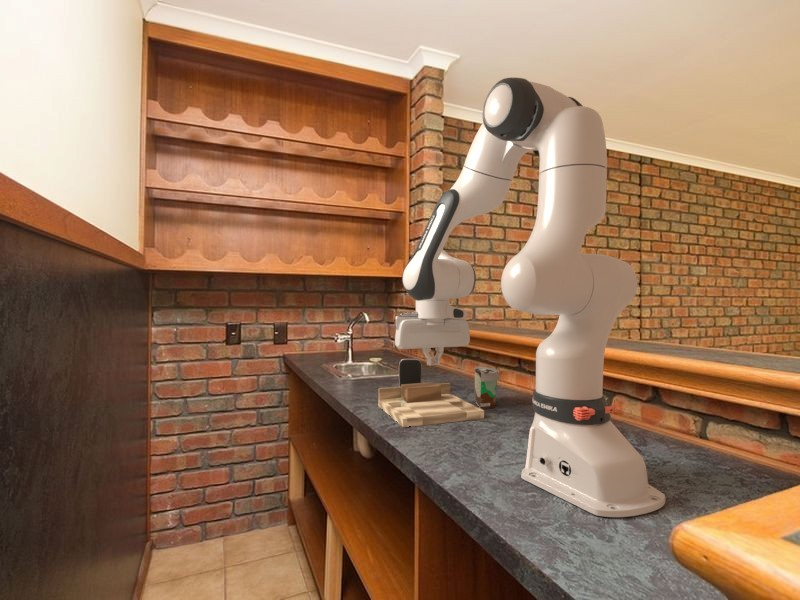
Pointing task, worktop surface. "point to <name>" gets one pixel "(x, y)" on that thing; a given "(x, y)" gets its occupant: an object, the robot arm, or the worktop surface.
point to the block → (420, 392)
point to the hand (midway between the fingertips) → (433, 365)
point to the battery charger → (409, 371)
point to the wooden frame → (427, 408)
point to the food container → (485, 386)
